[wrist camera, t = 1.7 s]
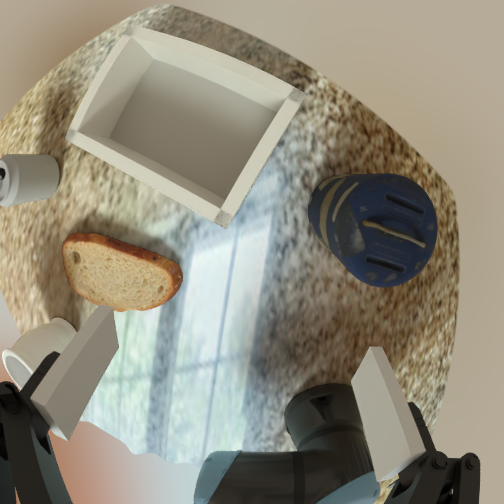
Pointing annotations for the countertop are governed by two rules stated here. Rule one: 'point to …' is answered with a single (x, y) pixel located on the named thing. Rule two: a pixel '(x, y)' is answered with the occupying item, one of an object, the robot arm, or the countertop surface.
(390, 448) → the robot arm
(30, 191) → the can
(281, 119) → the open box
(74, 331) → the jar
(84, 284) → the bread slice
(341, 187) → the canister
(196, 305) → the countertop surface
